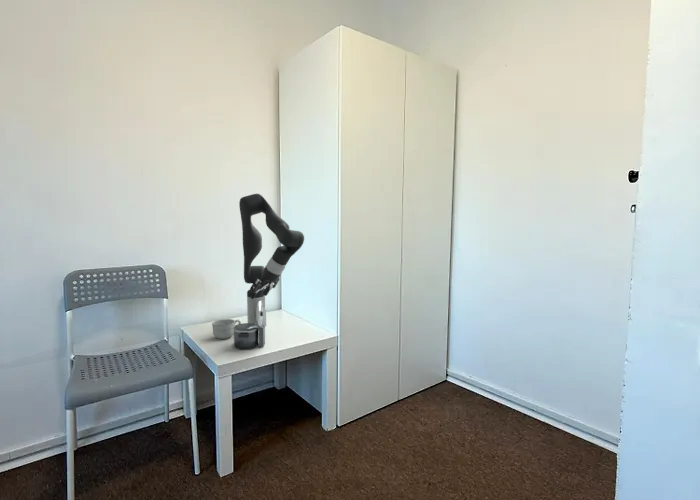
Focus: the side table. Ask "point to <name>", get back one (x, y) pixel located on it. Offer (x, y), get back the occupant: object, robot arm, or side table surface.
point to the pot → (249, 336)
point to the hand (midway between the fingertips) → (257, 296)
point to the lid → (259, 313)
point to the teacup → (224, 328)
